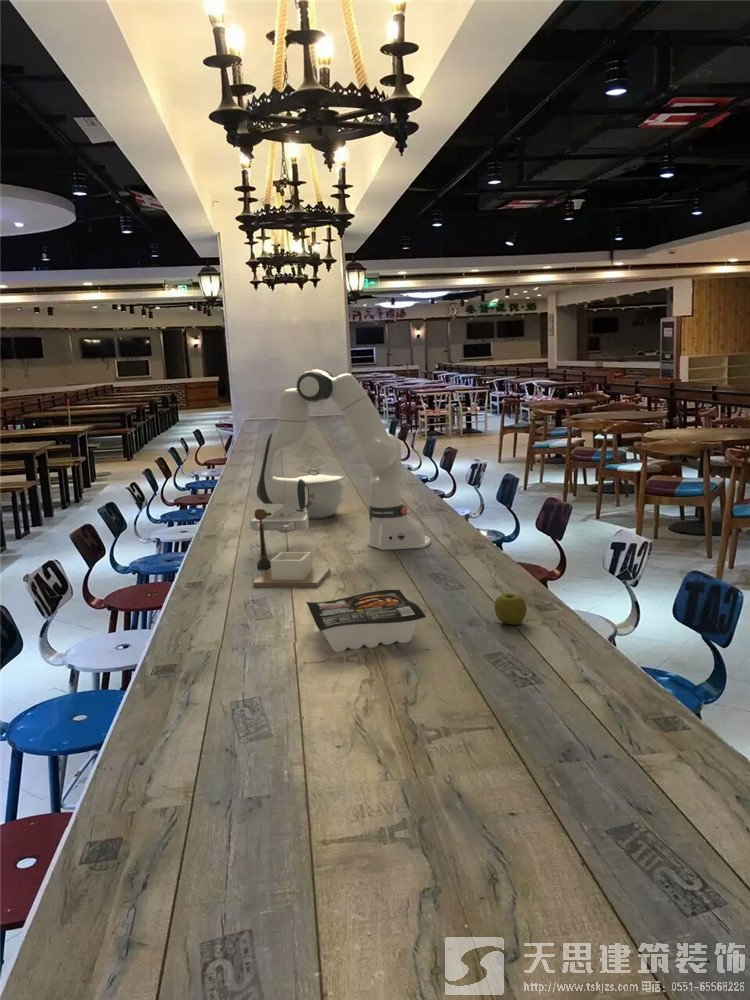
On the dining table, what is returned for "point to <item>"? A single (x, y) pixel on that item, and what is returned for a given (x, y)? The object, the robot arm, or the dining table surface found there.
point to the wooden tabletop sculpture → (262, 540)
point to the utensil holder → (292, 572)
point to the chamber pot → (322, 492)
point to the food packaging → (366, 619)
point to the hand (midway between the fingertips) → (272, 528)
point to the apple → (510, 608)
